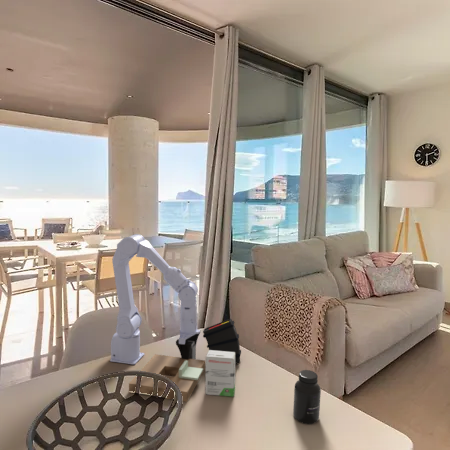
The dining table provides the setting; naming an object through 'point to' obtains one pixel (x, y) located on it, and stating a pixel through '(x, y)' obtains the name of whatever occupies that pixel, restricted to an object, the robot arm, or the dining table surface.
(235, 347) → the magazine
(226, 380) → the ink box
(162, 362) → the socket board
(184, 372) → the pale green notched block
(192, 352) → the plug
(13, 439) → the dining table surface
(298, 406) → the supplement bottle
